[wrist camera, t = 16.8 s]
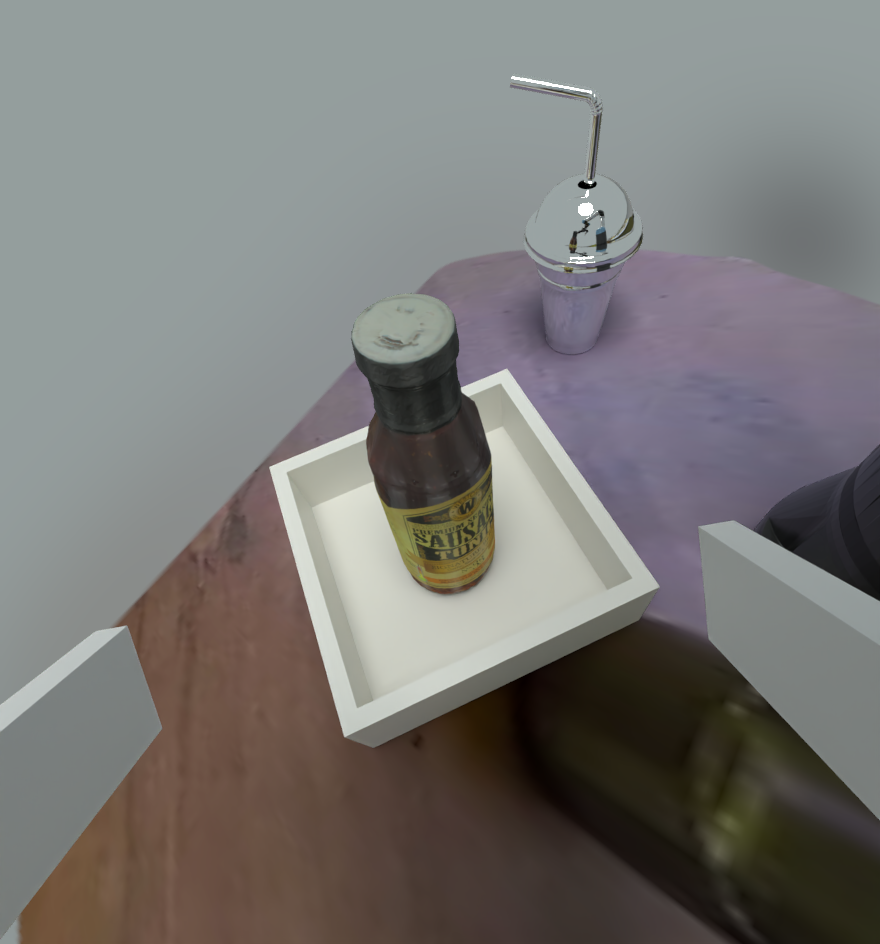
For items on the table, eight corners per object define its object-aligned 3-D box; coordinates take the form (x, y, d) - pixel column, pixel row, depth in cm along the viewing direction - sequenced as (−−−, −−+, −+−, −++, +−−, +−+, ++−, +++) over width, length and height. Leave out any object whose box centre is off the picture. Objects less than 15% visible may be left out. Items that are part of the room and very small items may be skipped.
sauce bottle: (438, 617, 33) (355, 428, 17) (389, 547, 37) (279, 329, 20) (519, 560, 35) (514, 332, 18) (464, 496, 38) (419, 255, 22)
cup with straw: (581, 387, 43) (618, 124, 27) (499, 340, 47) (486, 87, 31) (641, 329, 46) (709, 56, 29) (558, 289, 50) (576, 30, 33)
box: (508, 420, 42) (507, 368, 37) (639, 619, 33) (659, 586, 28) (300, 508, 41) (269, 467, 36) (373, 748, 31) (344, 737, 26)
